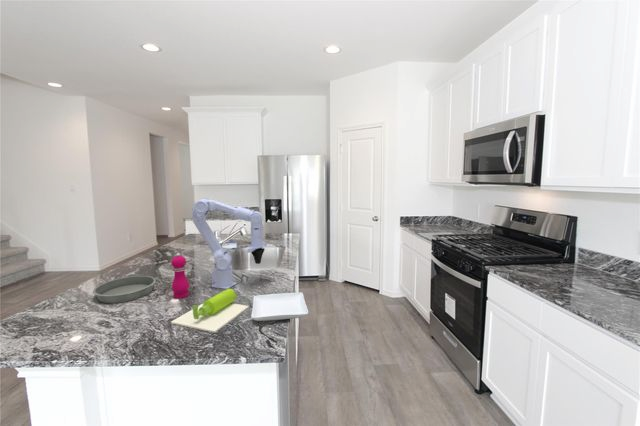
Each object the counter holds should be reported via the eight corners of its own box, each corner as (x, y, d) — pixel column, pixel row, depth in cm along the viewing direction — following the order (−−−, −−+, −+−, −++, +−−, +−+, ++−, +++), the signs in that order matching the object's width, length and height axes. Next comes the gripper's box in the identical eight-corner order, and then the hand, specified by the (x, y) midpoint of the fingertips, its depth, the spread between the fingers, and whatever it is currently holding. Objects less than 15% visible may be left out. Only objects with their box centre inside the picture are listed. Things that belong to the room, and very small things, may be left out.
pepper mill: (193, 294, 139) (190, 251, 136) (180, 300, 133) (177, 255, 130) (182, 291, 142) (179, 250, 139) (168, 297, 136) (165, 254, 133)
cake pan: (81, 299, 136) (80, 289, 135) (135, 281, 158) (134, 272, 157) (115, 309, 125) (114, 298, 125) (167, 288, 147) (167, 279, 146)
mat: (170, 323, 112) (170, 321, 112) (209, 300, 132) (209, 299, 132) (214, 332, 105) (214, 331, 105) (249, 307, 125) (249, 306, 125)
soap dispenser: (235, 286, 127) (200, 306, 109) (236, 302, 128) (202, 324, 110) (224, 285, 130) (188, 304, 111) (225, 300, 130) (189, 322, 112)
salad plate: (302, 298, 134) (302, 290, 134) (309, 321, 113) (309, 312, 113) (253, 302, 131) (253, 294, 130) (251, 326, 110) (250, 318, 109)
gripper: (255, 240, 140) (257, 268, 142) (271, 234, 154) (272, 259, 156) (242, 239, 143) (244, 266, 145) (259, 233, 156) (260, 258, 158)
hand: (258, 263), depth 150 cm, fingers closed
